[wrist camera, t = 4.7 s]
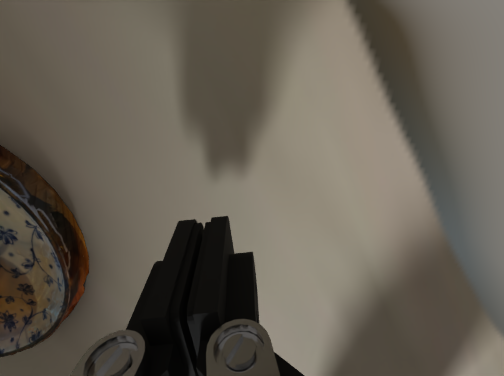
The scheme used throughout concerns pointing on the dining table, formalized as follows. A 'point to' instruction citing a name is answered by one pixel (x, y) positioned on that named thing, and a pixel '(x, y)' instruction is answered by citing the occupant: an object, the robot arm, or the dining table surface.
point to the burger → (35, 257)
